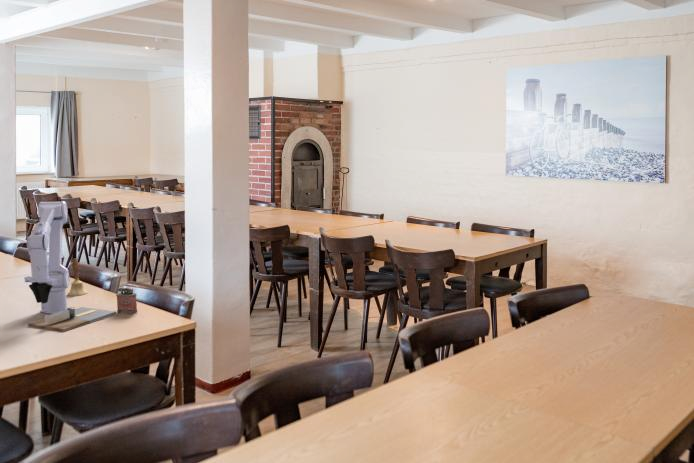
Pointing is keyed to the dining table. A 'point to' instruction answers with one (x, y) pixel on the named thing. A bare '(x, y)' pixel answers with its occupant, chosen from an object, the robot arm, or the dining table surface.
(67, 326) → the plate
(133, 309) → the red tin can
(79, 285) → the hand bell
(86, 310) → the door plate
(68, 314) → the lock bar
